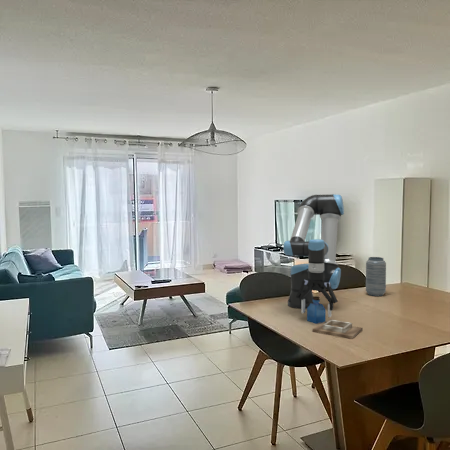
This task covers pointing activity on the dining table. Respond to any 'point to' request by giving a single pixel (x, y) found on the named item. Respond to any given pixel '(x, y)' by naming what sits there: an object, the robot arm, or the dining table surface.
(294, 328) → the dining table surface
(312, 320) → the perfume bottle
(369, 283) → the vase
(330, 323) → the brown board with frame
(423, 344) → the dining table surface
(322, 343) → the dining table surface
